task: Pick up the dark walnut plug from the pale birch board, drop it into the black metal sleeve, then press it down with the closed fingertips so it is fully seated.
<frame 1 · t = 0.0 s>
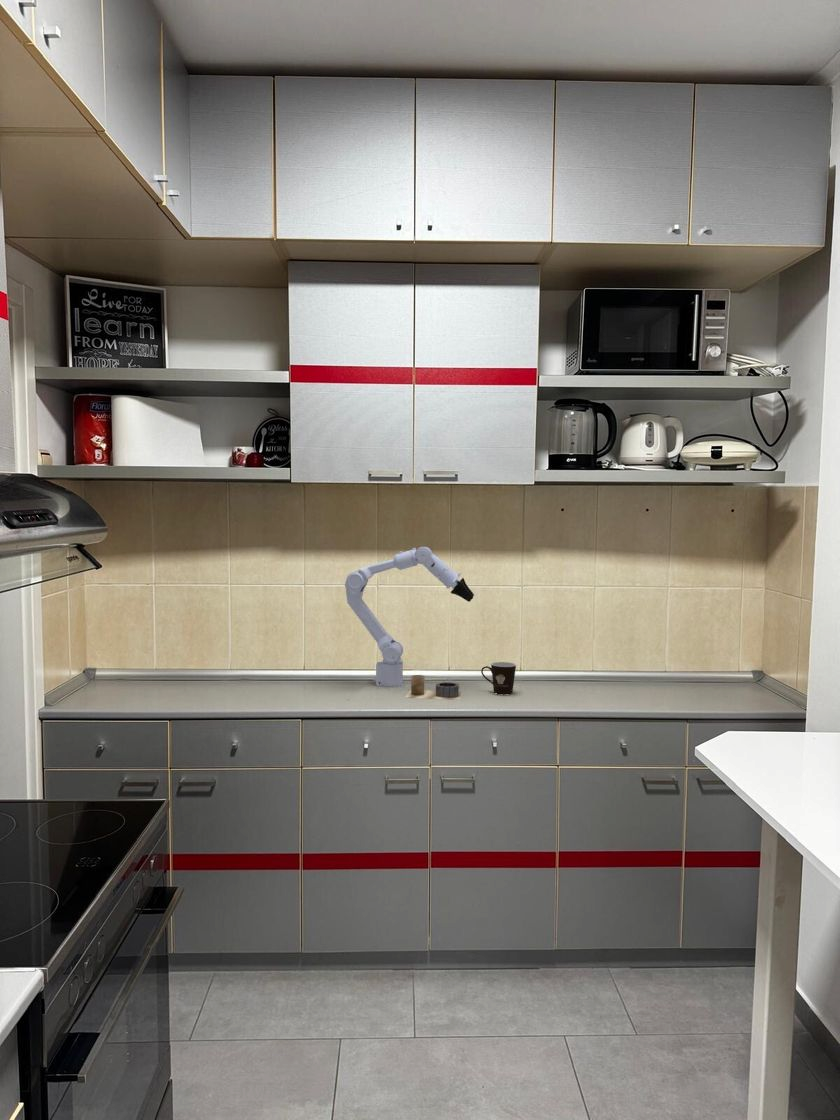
hand: (471, 598, 283), 32 cm above the counter, tool tilted 50°, fingers open, 7 cm apart
coffee mug: (499, 692, 282), on the counter
sleeve: (447, 698, 273), resting on board
plug: (417, 694, 274), point 1 cm above the counter, touching board
board: (433, 697, 273), on the counter
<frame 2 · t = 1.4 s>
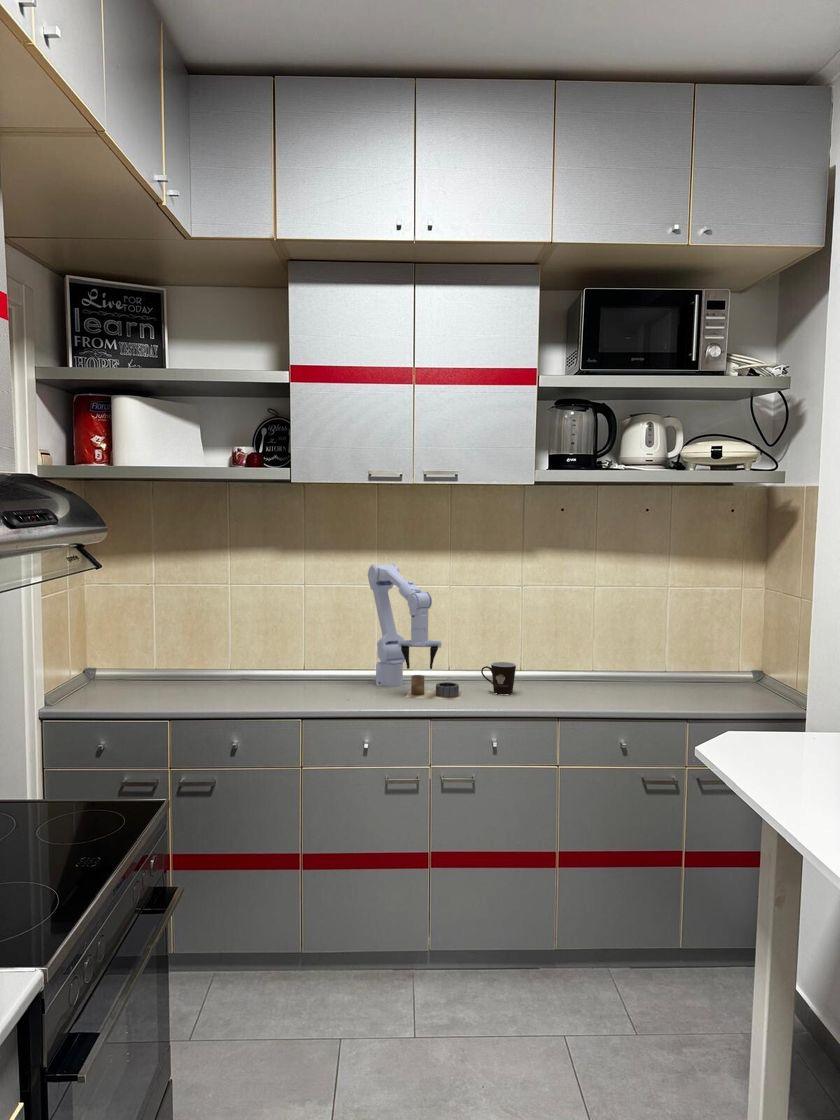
hand: (419, 668, 273), 10 cm above the counter, tool pointing down, fingers open, 7 cm apart
nothing on the counter moved.
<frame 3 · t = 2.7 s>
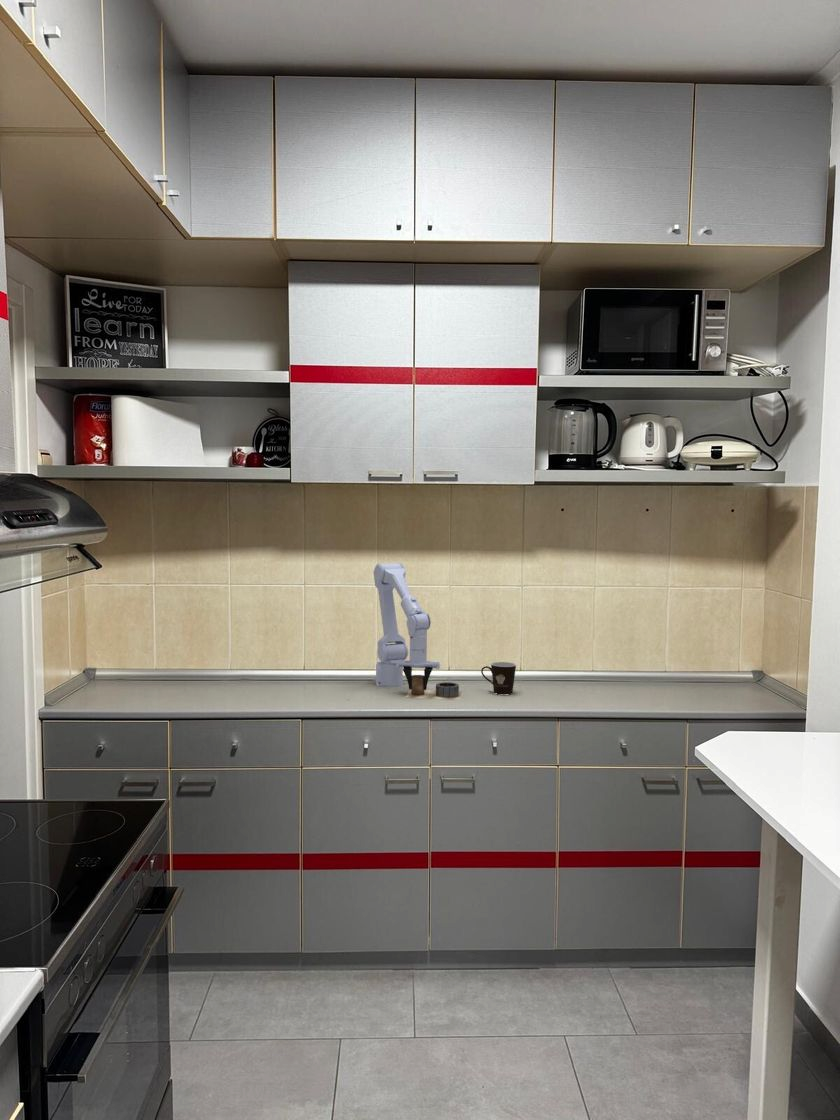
hand: (417, 689, 273), 3 cm above the counter, tool pointing down, fingers closed on plug, 4 cm apart
plug: (417, 694, 274), point 1 cm above the counter, touching board, gripper
everything else where it was.
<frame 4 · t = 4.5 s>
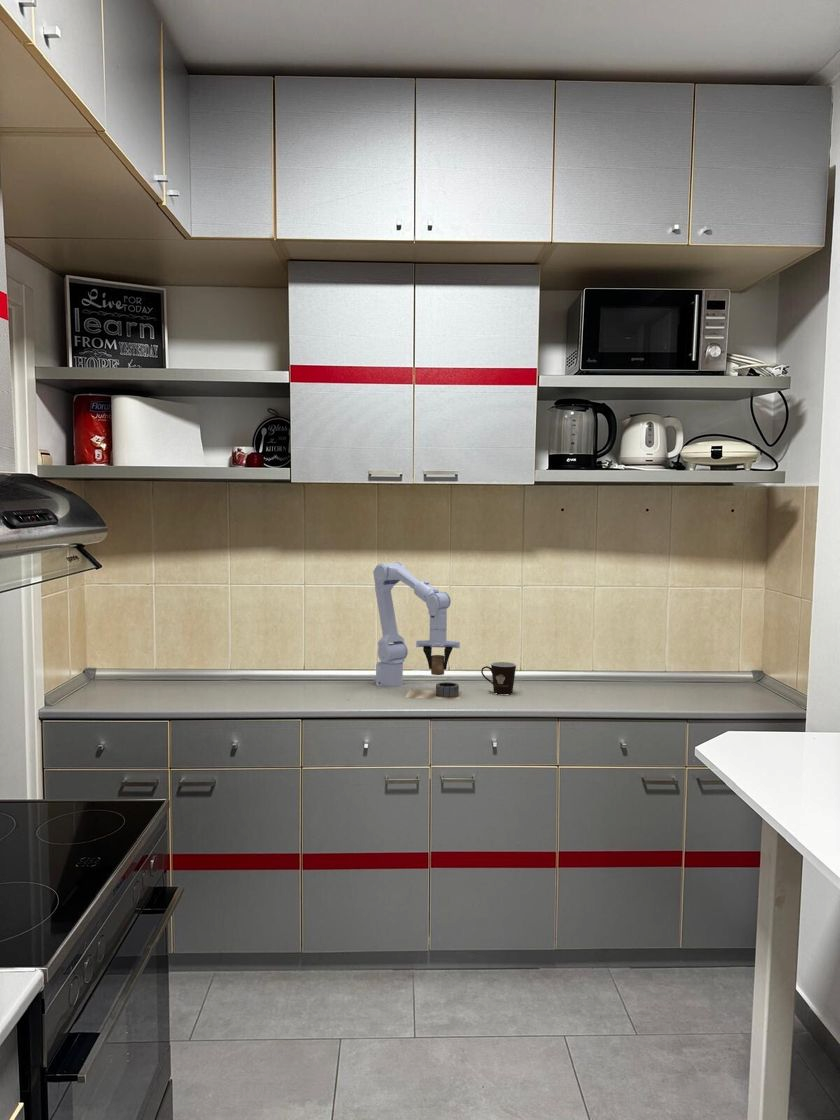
hand: (437, 668, 272), 10 cm above the counter, tool pointing down, fingers closed on plug, 4 cm apart
plug: (437, 673, 272), point 8 cm above the counter, touching gripper
everything else where it was.
when the fingers open (5 cm above the counter, at t = 6.5 s): plug drops 2 cm, resting on board.
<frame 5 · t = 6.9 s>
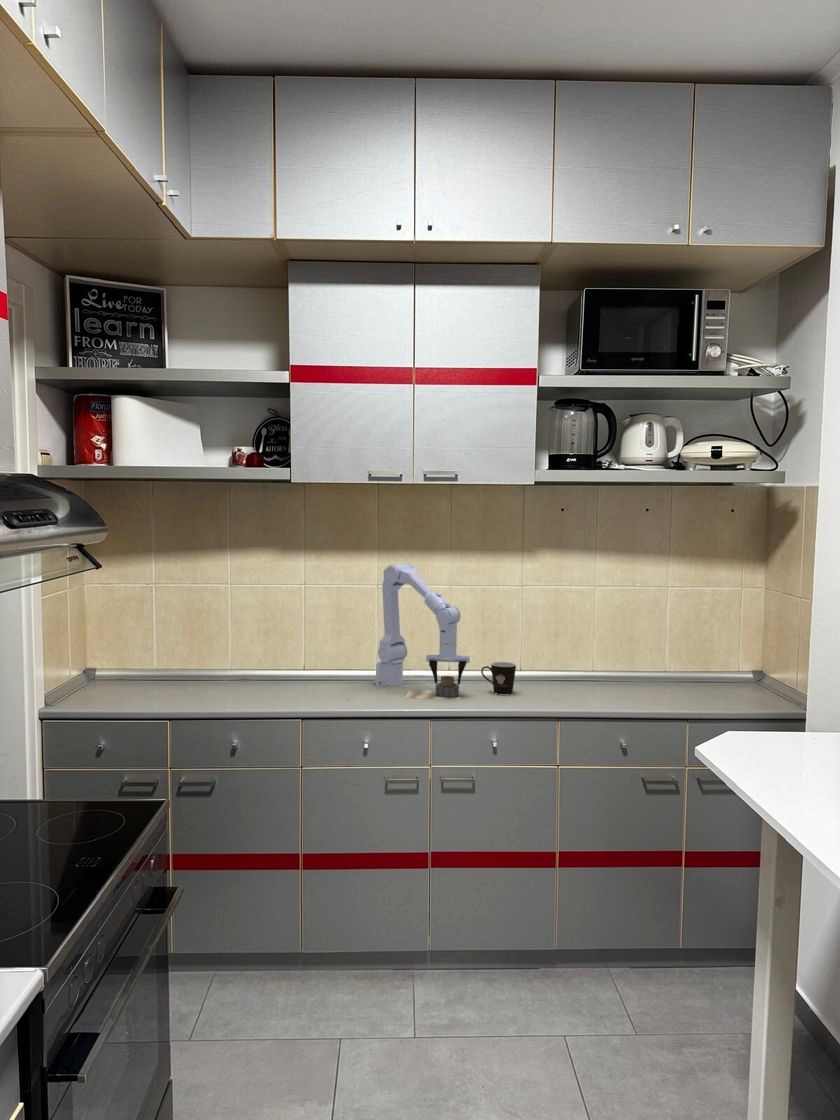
hand: (447, 683, 272), 5 cm above the counter, tool pointing down, fingers open, 7 cm apart
plug: (447, 695, 272), point 1 cm above the counter, touching board
everything else where it was.
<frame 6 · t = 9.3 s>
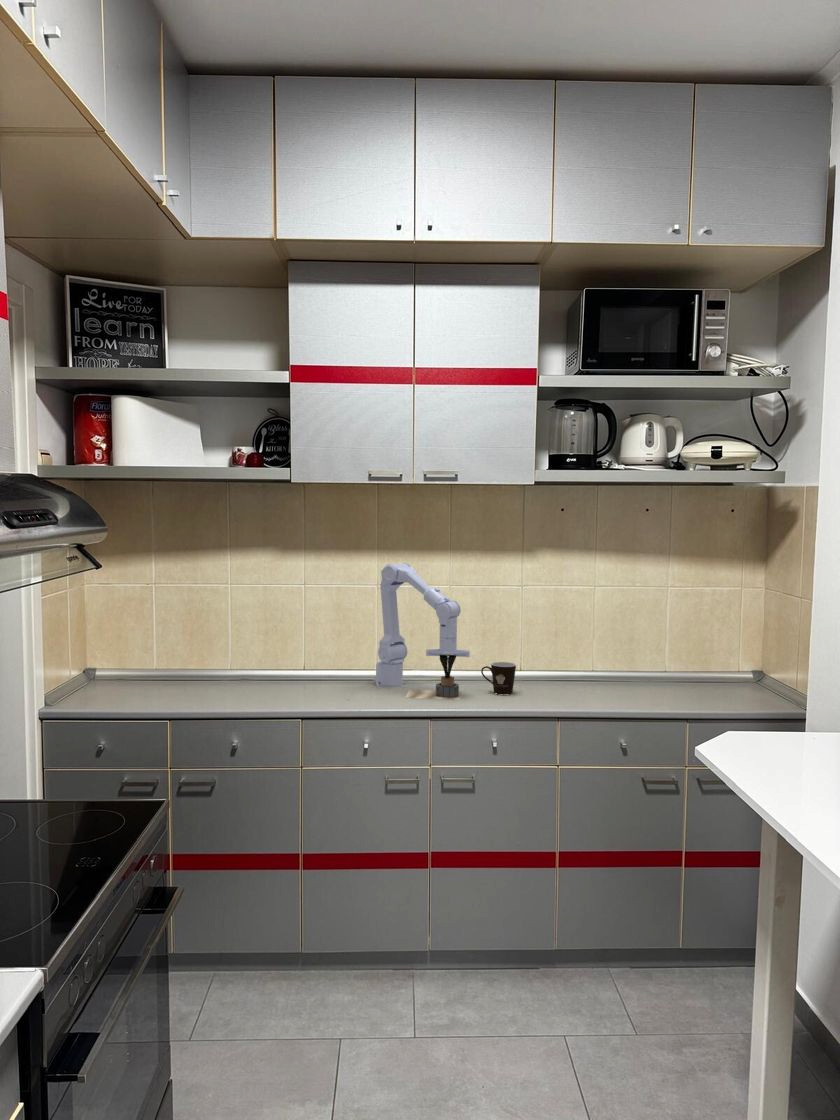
hand: (447, 677, 272), 7 cm above the counter, tool pointing down, fingers closed, pressing on plug
plug: (447, 695, 272), point 1 cm above the counter, touching board, gripper
everything else where it was.
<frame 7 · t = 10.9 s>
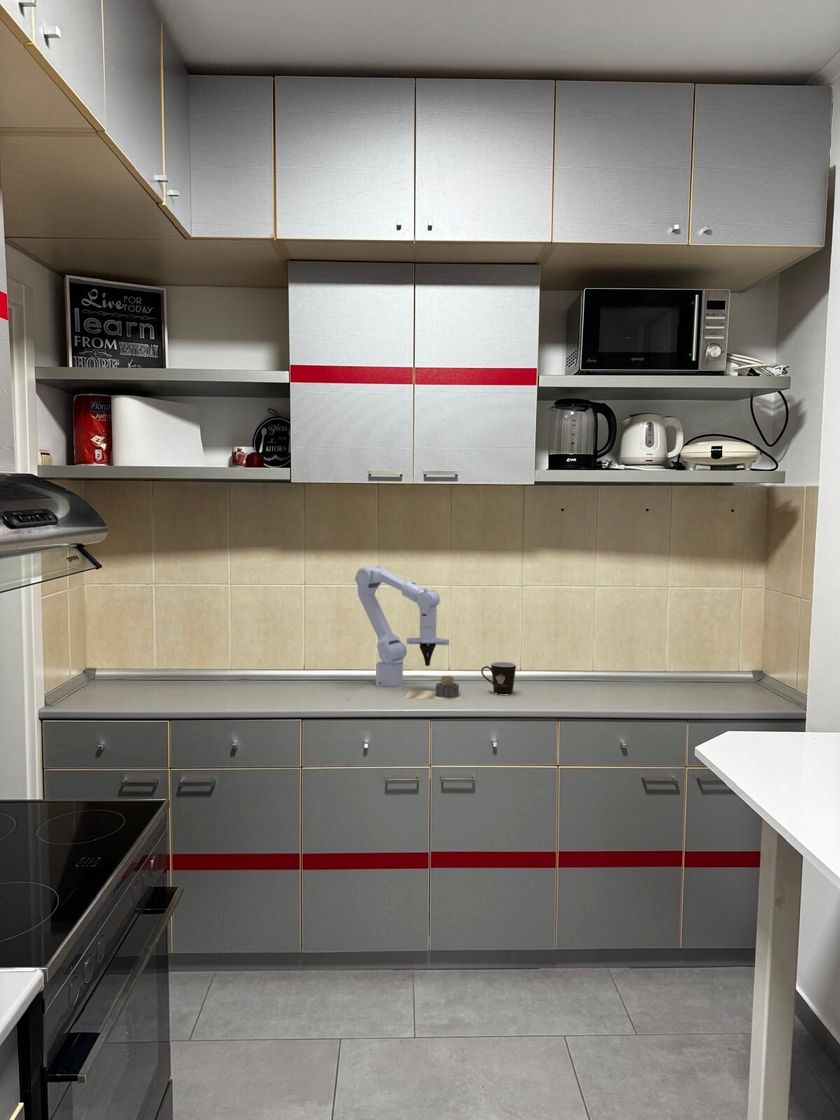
hand: (427, 665, 280), 9 cm above the counter, tool pointing down, fingers closed
plug: (447, 695, 272), point 1 cm above the counter, touching board
everything else where it was.
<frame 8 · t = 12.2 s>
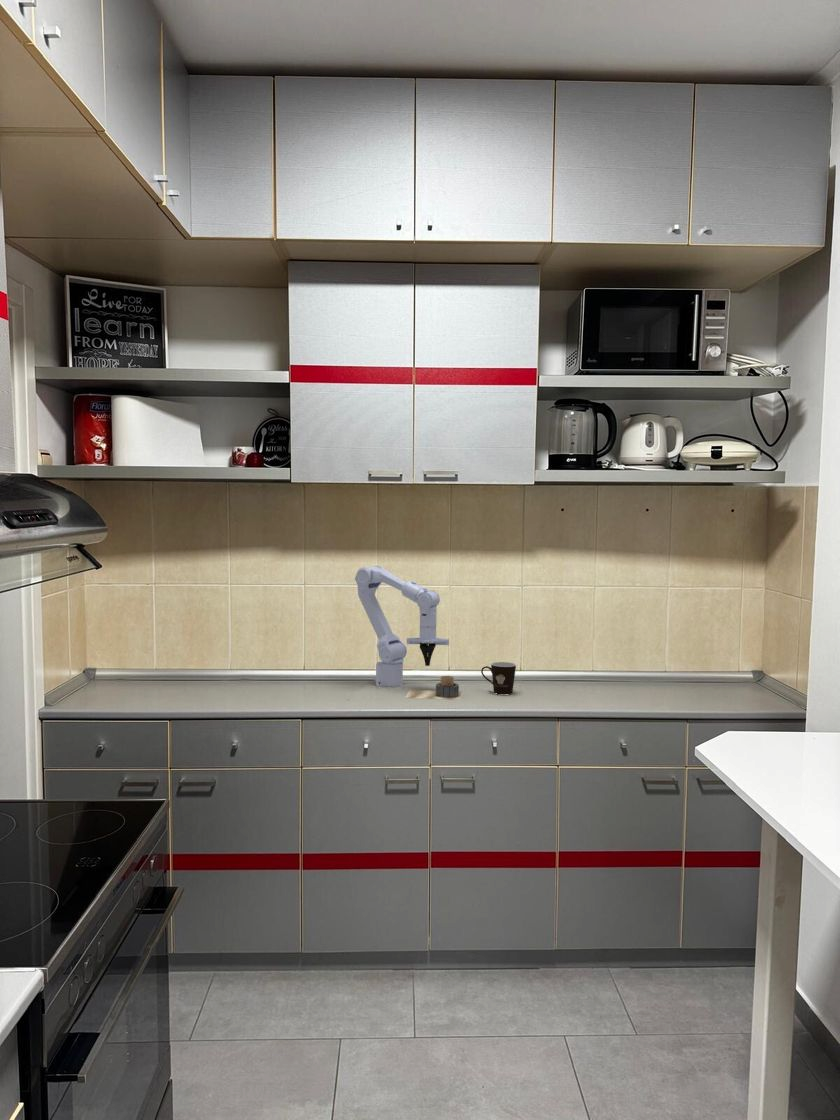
hand: (427, 665, 280), 9 cm above the counter, tool pointing down, fingers closed
nothing on the counter moved.
at the end: plug 0.1 cm off-centre on the sleeve, point 1.0 cm above the sleeve's base; plug tilted 1°; the gripper is holding nothing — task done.
